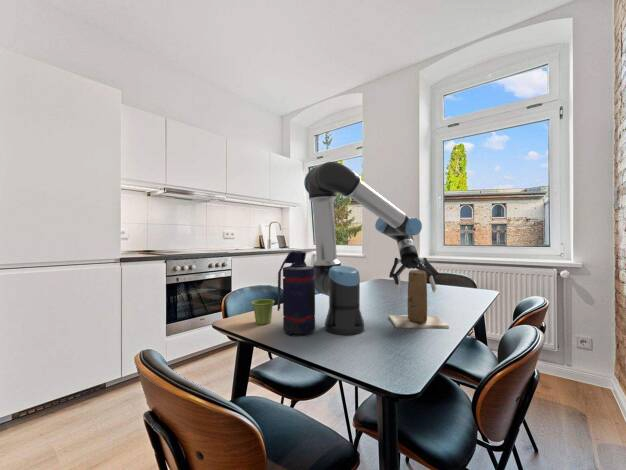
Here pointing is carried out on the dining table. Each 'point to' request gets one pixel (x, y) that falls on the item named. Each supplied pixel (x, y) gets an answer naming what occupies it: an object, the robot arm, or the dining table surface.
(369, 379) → the dining table surface
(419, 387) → the dining table surface
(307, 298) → the grenade
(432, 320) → the letter board
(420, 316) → the block
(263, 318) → the plant pot
